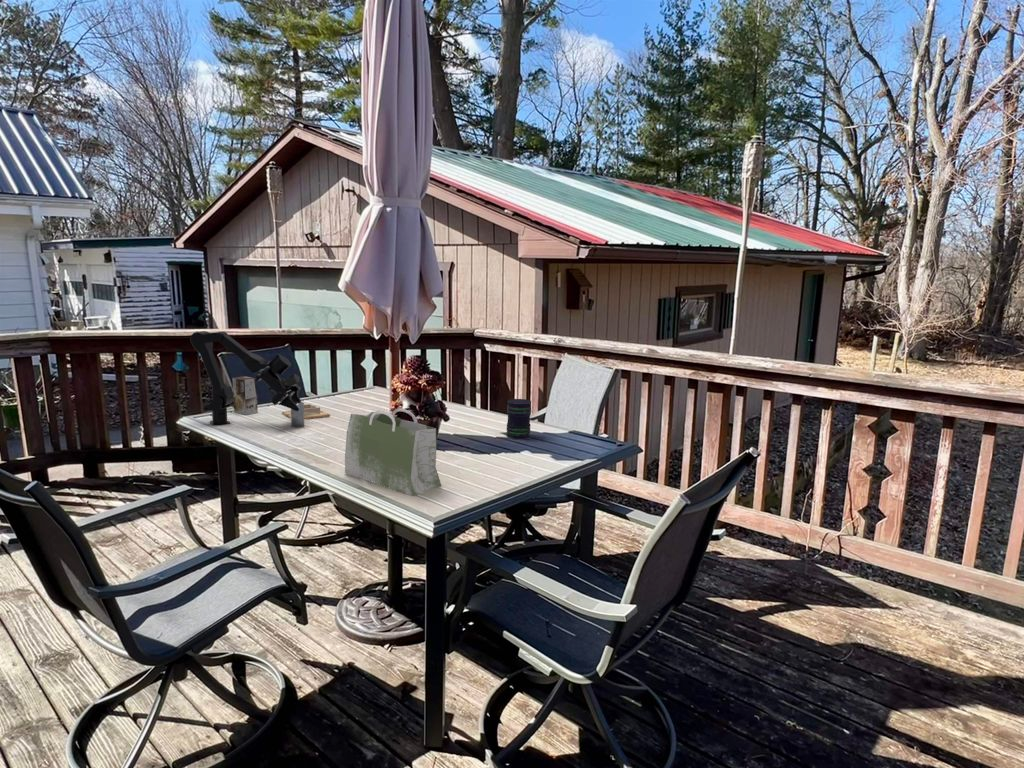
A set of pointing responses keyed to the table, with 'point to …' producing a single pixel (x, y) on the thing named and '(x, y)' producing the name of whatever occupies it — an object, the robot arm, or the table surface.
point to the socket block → (310, 412)
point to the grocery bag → (392, 452)
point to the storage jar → (518, 418)
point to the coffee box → (245, 395)
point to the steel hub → (298, 415)
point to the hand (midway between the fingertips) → (300, 408)
